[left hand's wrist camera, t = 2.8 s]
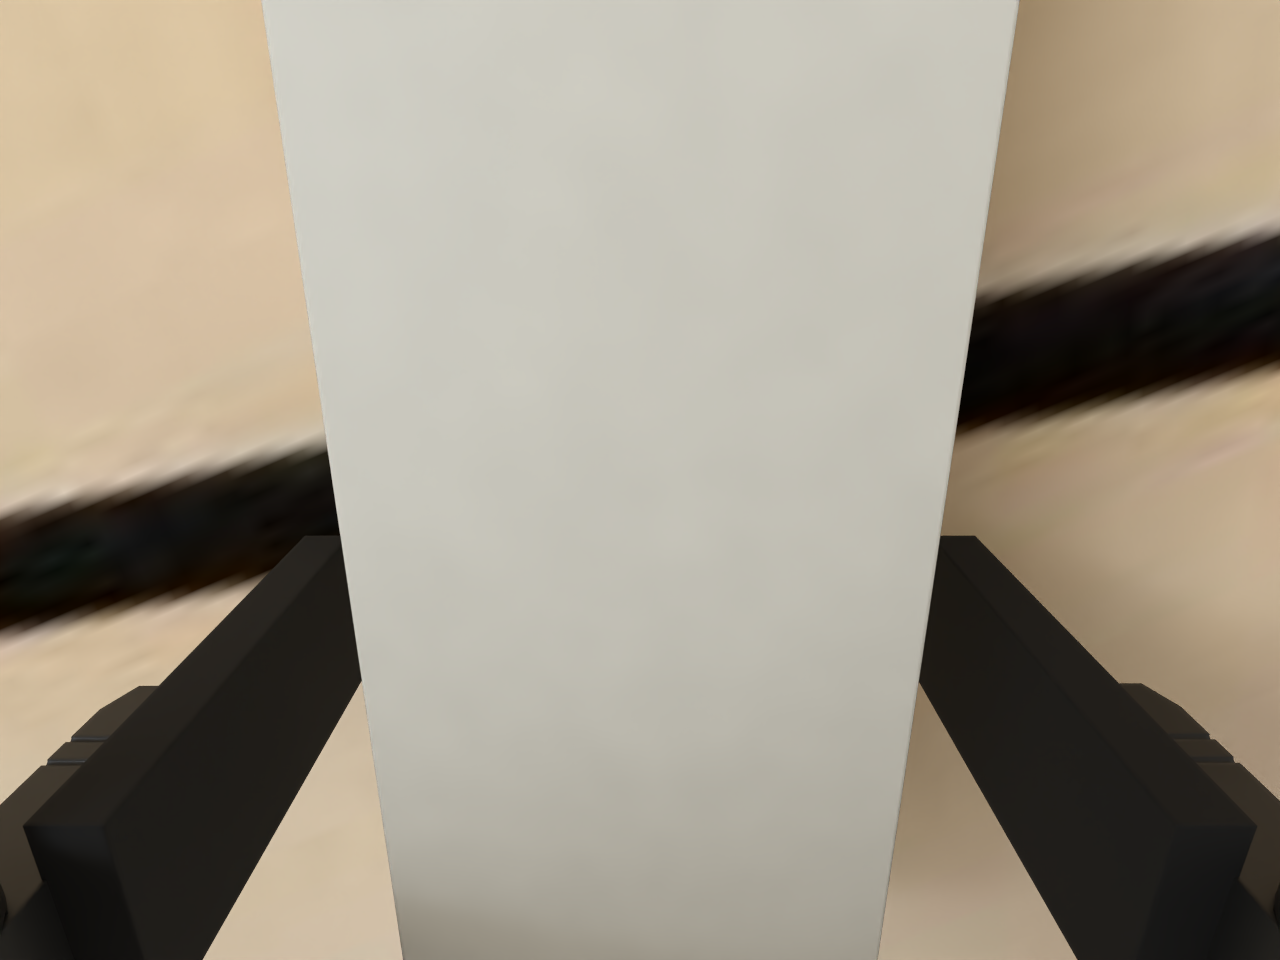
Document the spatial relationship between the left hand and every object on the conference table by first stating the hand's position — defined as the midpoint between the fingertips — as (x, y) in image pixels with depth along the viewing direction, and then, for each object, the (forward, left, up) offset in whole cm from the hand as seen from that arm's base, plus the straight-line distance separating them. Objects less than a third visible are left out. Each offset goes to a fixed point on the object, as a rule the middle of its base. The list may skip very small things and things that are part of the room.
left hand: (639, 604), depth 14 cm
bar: (+29, +13, -2) cm, 32 cm away
